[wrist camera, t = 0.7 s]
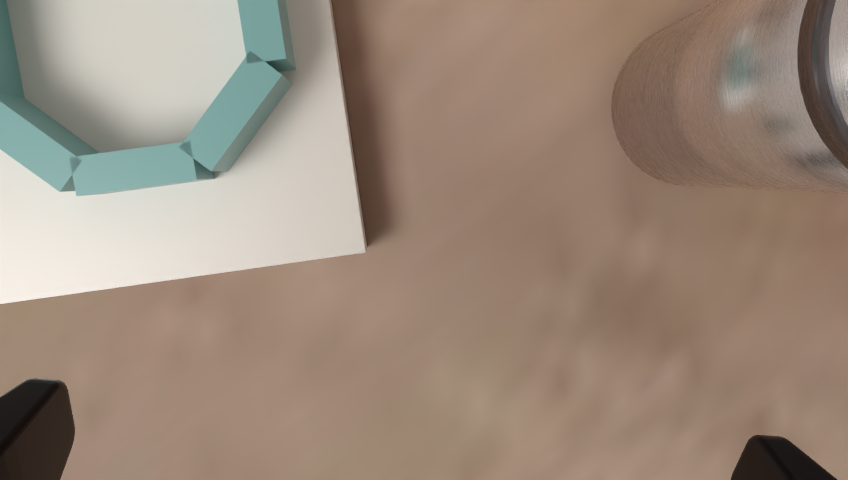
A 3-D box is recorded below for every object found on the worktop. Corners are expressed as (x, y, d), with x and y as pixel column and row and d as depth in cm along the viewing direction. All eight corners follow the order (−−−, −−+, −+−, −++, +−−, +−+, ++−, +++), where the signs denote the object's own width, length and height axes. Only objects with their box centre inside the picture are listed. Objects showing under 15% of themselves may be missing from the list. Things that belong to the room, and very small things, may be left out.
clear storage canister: (783, 163, 23) (1209, 155, 11) (630, 204, 23) (893, 241, 11) (750, 4, 22) (1158, -184, 11) (593, 45, 22) (827, -98, 10)
